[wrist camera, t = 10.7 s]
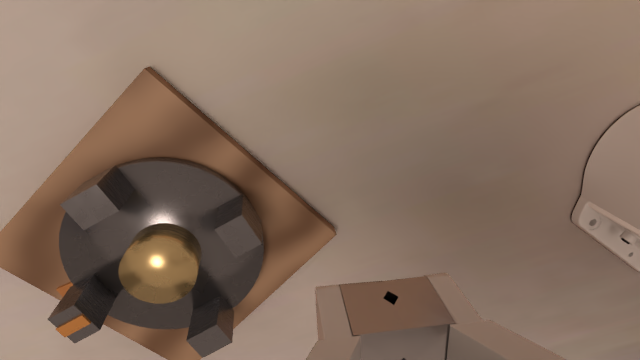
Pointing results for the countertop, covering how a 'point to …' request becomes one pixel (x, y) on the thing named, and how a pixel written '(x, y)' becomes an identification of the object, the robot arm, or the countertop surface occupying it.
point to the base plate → (167, 142)
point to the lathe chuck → (158, 251)
